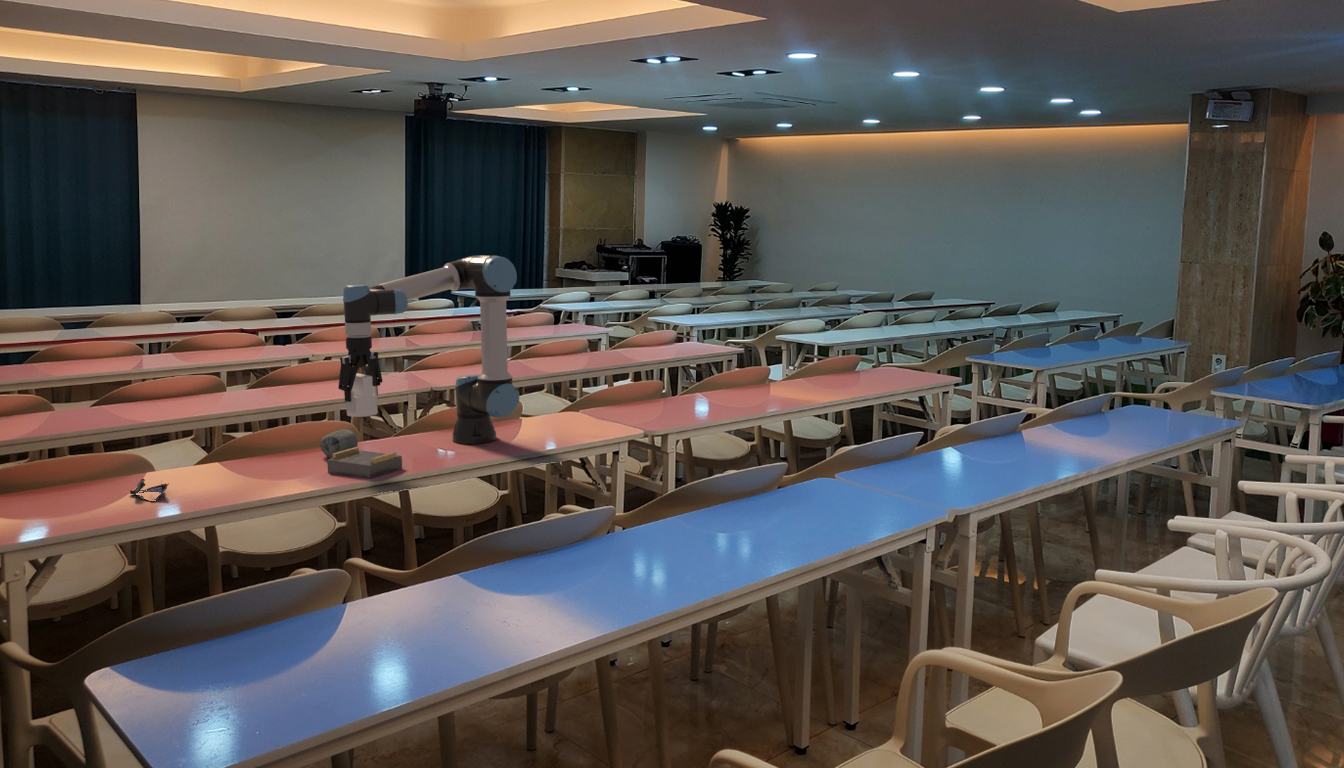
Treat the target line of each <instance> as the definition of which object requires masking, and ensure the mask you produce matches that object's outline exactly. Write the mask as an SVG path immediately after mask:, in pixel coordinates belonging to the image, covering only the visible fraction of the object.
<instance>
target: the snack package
mask: <svg viewBox="0 0 1344 768" xmlns="http://www.w3.org/2000/svg"><path fill="white" fill-rule="evenodd" d="M145 481H146V480H145V478H141V479H140V480H139V482H138V483H137V486H136V487H135V488H134V489H133V490H132V489H130V490H129V491H130V493H129V494H134V495H133V496H135V495H136V493H138V492H139V491H143V492H139V493H144V492H159V493H161V494H160V495H159V496H158V497H157V498H156V499H154V498H153V499H154V500H157V501H158V500H159V498H160V497H161V496H162V495H163V494H164V492H165V491H166V490H168V486H169V484H170V483H161V484H158V485H155V486H151V487H148V488H146V489H143V488H145V486H146V483H145ZM161 482H163V480H161ZM146 490H147V491H146ZM136 497H139V498H141V499H142V500H144V499H143V498H144V497H143V496H142V495H141V496H140V495H137V496H136Z"/></svg>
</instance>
